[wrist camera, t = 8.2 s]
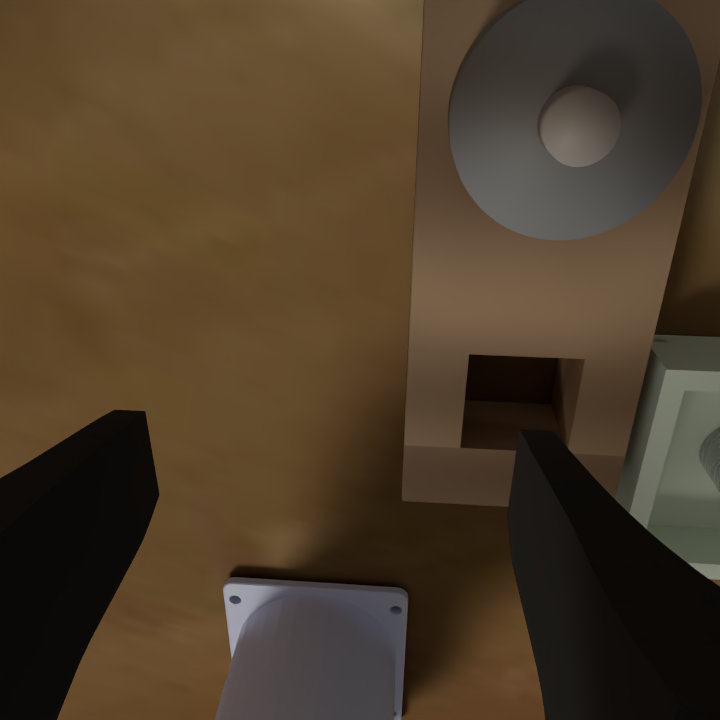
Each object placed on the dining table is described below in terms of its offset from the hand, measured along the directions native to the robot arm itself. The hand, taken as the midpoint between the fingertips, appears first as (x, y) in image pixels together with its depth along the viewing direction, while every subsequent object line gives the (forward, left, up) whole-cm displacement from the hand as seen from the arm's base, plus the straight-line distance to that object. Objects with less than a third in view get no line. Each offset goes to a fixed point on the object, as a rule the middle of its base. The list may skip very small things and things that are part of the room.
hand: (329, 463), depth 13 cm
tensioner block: (+1, -5, -10) cm, 12 cm away
